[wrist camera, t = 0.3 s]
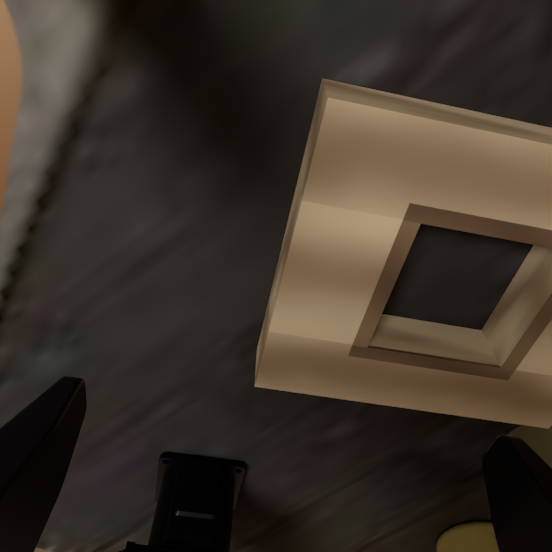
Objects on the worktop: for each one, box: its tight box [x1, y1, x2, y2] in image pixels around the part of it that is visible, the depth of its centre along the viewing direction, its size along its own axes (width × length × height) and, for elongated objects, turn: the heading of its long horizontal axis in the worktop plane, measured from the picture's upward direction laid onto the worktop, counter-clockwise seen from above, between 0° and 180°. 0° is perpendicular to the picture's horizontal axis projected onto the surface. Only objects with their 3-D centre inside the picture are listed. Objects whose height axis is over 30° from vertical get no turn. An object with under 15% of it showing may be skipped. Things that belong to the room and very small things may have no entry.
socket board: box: [254, 78, 552, 429], centre depth 24 cm, size 16×18×3 cm
